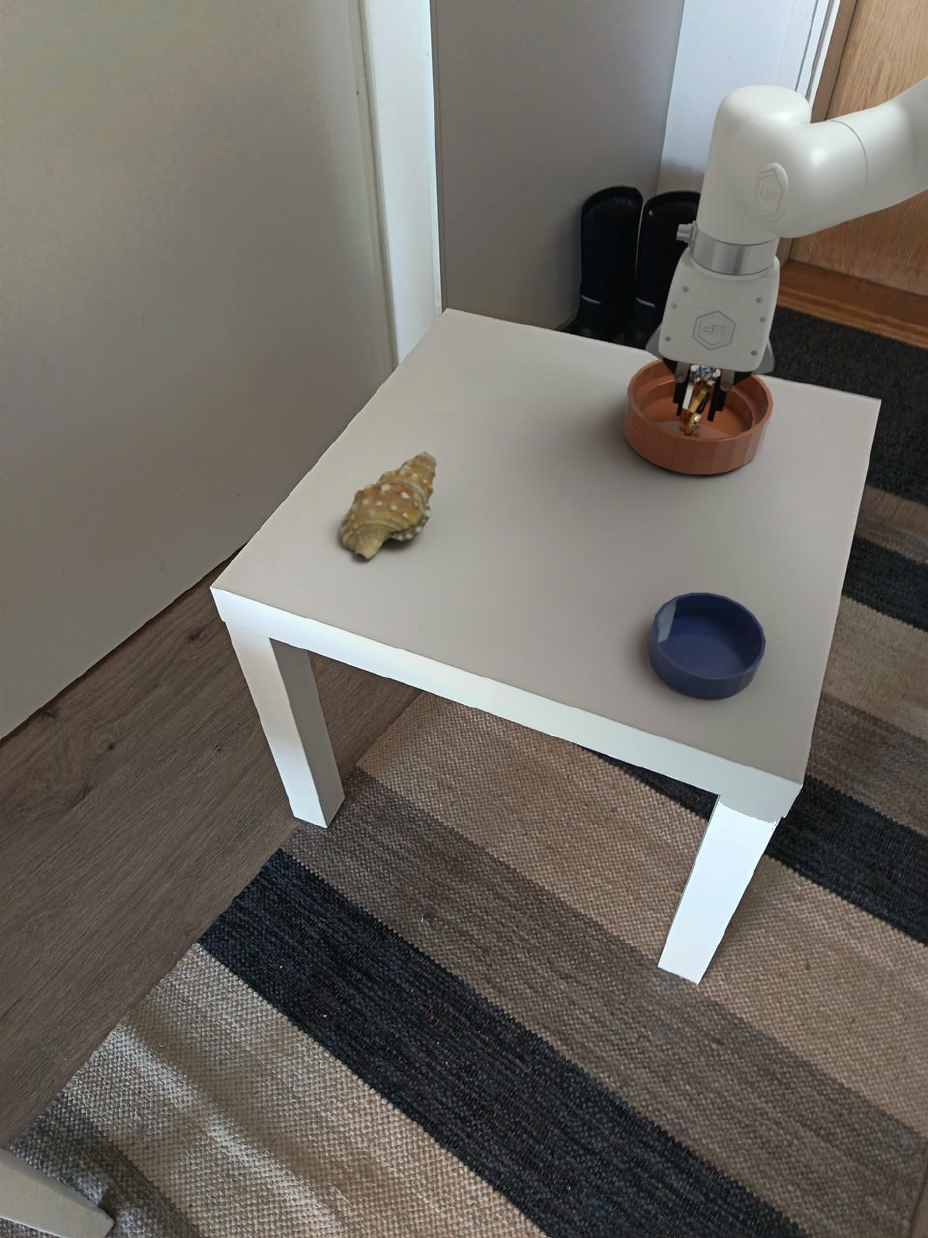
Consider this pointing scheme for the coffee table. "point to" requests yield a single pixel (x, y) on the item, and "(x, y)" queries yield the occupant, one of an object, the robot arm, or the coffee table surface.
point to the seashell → (390, 507)
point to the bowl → (711, 442)
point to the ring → (699, 406)
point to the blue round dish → (705, 645)
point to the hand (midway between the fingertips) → (696, 409)
